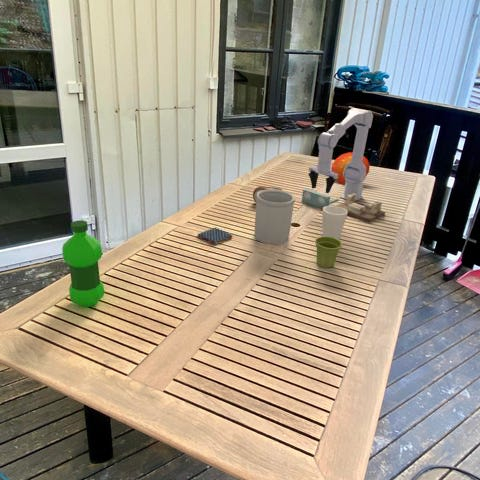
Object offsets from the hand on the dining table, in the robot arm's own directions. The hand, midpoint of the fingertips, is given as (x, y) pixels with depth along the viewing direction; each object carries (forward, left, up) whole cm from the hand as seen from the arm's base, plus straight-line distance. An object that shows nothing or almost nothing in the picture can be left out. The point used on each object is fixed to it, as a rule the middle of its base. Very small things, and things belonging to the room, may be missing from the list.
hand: (320, 190), depth 199 cm
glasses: (-10, -6, -10) cm, 15 cm away
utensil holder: (+38, +5, -10) cm, 40 cm away
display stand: (-14, +13, -10) cm, 22 cm away
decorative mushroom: (-51, -16, -10) cm, 54 cm away
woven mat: (+56, -9, -11) cm, 58 cm away
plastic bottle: (+114, 0, -10) cm, 114 cm away
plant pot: (+40, +32, -10) cm, 52 cm away
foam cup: (+22, +22, -10) cm, 33 cm away
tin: (+12, -20, -10) cm, 26 cm away
